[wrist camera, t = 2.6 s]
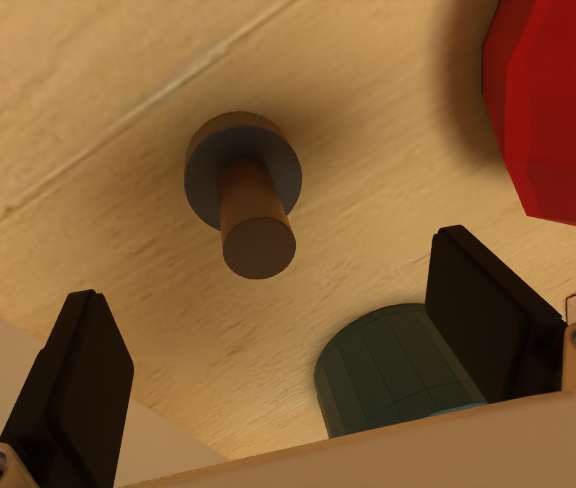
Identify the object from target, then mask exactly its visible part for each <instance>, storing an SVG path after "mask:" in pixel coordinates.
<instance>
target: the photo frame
mask: <svg viewBox="0 0 576 488" xmlns="http://www.w3.org/2000/svg"><path fill="white" fill-rule="evenodd" d="M567 314H568V325H570V324H572V323H576V296H574V297H572V298H569V299H567Z"/></svg>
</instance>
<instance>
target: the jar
mask: <svg viewBox="0 0 576 488" xmlns="http://www.w3.org/2000/svg"><path fill="white" fill-rule="evenodd" d="M314 383H315V388H316V392H317V398H318V402H319V405H320V408H321V412H322V415H323V419H324V422H325V426H326V429H327V432H328V436H329V439H331V438H336V437H340V436H345V435H349V434H354V433H358V432H363V431H367V430H372V429H376V428H381V427H385V426H390V425H395V424H399V423H404V422H409V421H413V420H418V419H422V418H427V417H432V416H436V415H441V414H445V413H450V412H455V411H459V410H464V409H468V408H473V407H478V406H483V405H488V403H487V401H486V400H485V398H484V397H483V395H482V394H481V392H480V391H479V389H478V388H477V387H476V385H475V384H474V382H473V381H472V379H471V378H470V376H469V375H468V374H467V372H466V371H465V369H464V368H463V366H462V365H461V363H460V362H459V360H458V359H457V358H456V356H455V355H454V353H453V352H452V350H451V349H450V347H449V346H448V344H447V343H446V342H445V340H444V339H443V337H442V336H441V334H440V333H439V331H438V330H437V328H436V327H435V326H434V324H433V323H432V321H431V320H430V318H429V317H428V315H427V313H426V310H425V305H420V304H404V305H397V306H391V307H387V308H383V309H380V310H377V311H375V312H372V313H370V314H367V315H365V316H363V317H361V318H359V319H358V320H356V321H354V322H353V323H351V324H350V325H348V326H347V327H345V328H344V329H343V330H342V331H340V332H339V333H338V334H337V335H336V336H335V337H334V338H333V339H332V340H331V341H330V342H329V343H328V345H327V346H326V348H325V349H324V350H323V352H322V354H321V356H320V358H319V360H318V362H317V365H316V369H315V374H314Z"/></svg>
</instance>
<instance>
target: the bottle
mask: <svg viewBox="0 0 576 488" xmlns="http://www.w3.org/2000/svg"><path fill="white" fill-rule="evenodd" d="M482 95H483V98H484V101H485V104H486V107H487V110H488V114H489V117H490V120H491V123H492V126H493V129H494V132H495V135H496V138H497V142H498V145H499V148H500V151H501V154H502V157H503V160H504V163H505V165H506V167H507V170H508V172H509V175H510V177H511V179H512V182H513V184H514V187H515V189H516V191H517V194H518V196H519V199H520V201H521V203H522V206H523V208H524V210H525V213H526V215H527V216H530V217H535V218H540V219H545V220H549V221H554V222H559V223H564V224H568V225H573V226H576V0H499V3H498V5H497V8H496V10H495V13H494V16H493V18H492V21H491V23H490V26H489V29H488V31H487V34H486V36H485V39H484V42H483V44H482Z"/></svg>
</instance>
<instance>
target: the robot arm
mask: <svg viewBox="0 0 576 488" xmlns="http://www.w3.org/2000/svg"><path fill="white" fill-rule="evenodd" d="M425 310H426V313H427V315H428V317H429V318H430V320H431V321H432V323H433V324H434V326H435V327H436V328H437V330H438V331H439V333H440V334H441V336H442V337H443V339H444V340H445V342H446V343H447V344H448V346H449V347H450V349H451V350H452V352H453V353H454V355H455V356H456V358H457V359H458V360H459V362H460V363H461V365H462V366H463V368H464V369H465V371H466V372H467V374H468V375H469V376H470V378H471V379H472V381H473V382H474V384H475V385H476V387H477V388H478V389H479V391H480V392H481V394H482V395H483V397H484V398H485V400H486V401H487V403H488V405H483V406H478V407H473V408H468V409H464V410H459V411H455V412H450V413H445V414H441V415H436V416H432V417H427V418H422V419H418V420H413V421H409V422H404V423H399V424H395V425H390V426H385V427H381V428H376V429H372V430H367V431H363V432H358V433H354V434H349V435H345V436H340V437H336V438H331V439H327V440H322V441H318V442H314V443H309V444H305V445H300V446H296V447H291V448H287V449H282V450H278V451H273V452H269V453H264V454H260V455H256V456H251V457H247V458H243V459H238V460H234V461H229V462H225V463H221V464H216V465H212V466H208V467H204V468H199V469H194V470H190V471H186V472H181V473H177V474H173V475H169V476H164V477H160V478H156V479H152V480H148V481H144V482H140V483H136V484H131V485H127V486H124V487H119V488H576V323H572V324H570V325H568V324H566V323H565V322H564V321H563V320H562V315H561V314H559V313H558V312H557V311H556V310H555V309H554V308H553V307H552V306H551V305H550V304H548V303H547V302H546V301H545V300H544V299H543V298H542V297H541V296H540V295H538V294H537V293H536V292H535V291H534V290H533V289H532V288H531V287H530V286H529V285H527V284H526V283H525V282H524V281H523V280H522V279H521V278H520V277H519V276H518V275H516V274H515V273H514V272H513V271H512V270H511V269H510V268H509V267H508V266H507V265H505V264H504V263H503V262H502V261H501V260H500V259H499V258H498V257H497V256H496V255H494V254H493V253H492V252H491V251H490V250H489V249H488V248H487V247H486V246H485V245H483V244H482V243H481V242H480V241H479V240H478V239H477V238H476V237H475V236H474V235H472V234H471V233H470V232H469V231H468V230H467V229H466V228H465V227H464V226H462V225H454V226H449V227H443V228H440V229H439V231H438V233H437V234H434V236H433V239H432V248H431V256H430V265H429V273H428V281H427V290H426V298H425ZM133 376H134V365H133V361H132V359H131V356H130V354H129V352H128V350H127V347H126V345H125V343H124V340H123V338H122V336H121V333H120V331H119V329H118V327H117V324H116V322H115V320H114V317H113V315H112V313H111V311H110V308H109V306H108V304H107V301H106V299H105V297H104V295H103V294H102V293H98V294H97V293H96V292H95V291H94V290H93V289H90V290H84V291H78V292H73V293H70V294H69V295H68V296H67V298H66V300H65V303H64V305H63V307H62V309H61V312H60V314H59V316H58V318H57V320H56V323H55V325H54V327H53V329H52V332H51V334H50V336H49V338H48V341H47V343H46V345H45V347H44V348H43V349H42V350H40V352H39V353H38V355H37V357H36V359H35V361H34V364H33V366H32V368H31V370H30V372H29V375H28V377H27V379H26V381H25V383H24V386H23V388H22V390H21V392H20V395H19V396H18V399H17V401H16V403H15V405H14V407H13V410H12V412H11V414H10V417H9V418H8V421H7V423H6V425H5V427H4V430H3V432H2V434H1V436H0V488H113V486H114V480H115V474H116V469H117V464H118V458H119V453H120V447H121V442H122V436H123V430H124V425H125V420H126V414H127V409H128V403H129V398H130V392H131V387H132V381H133Z"/></svg>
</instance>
